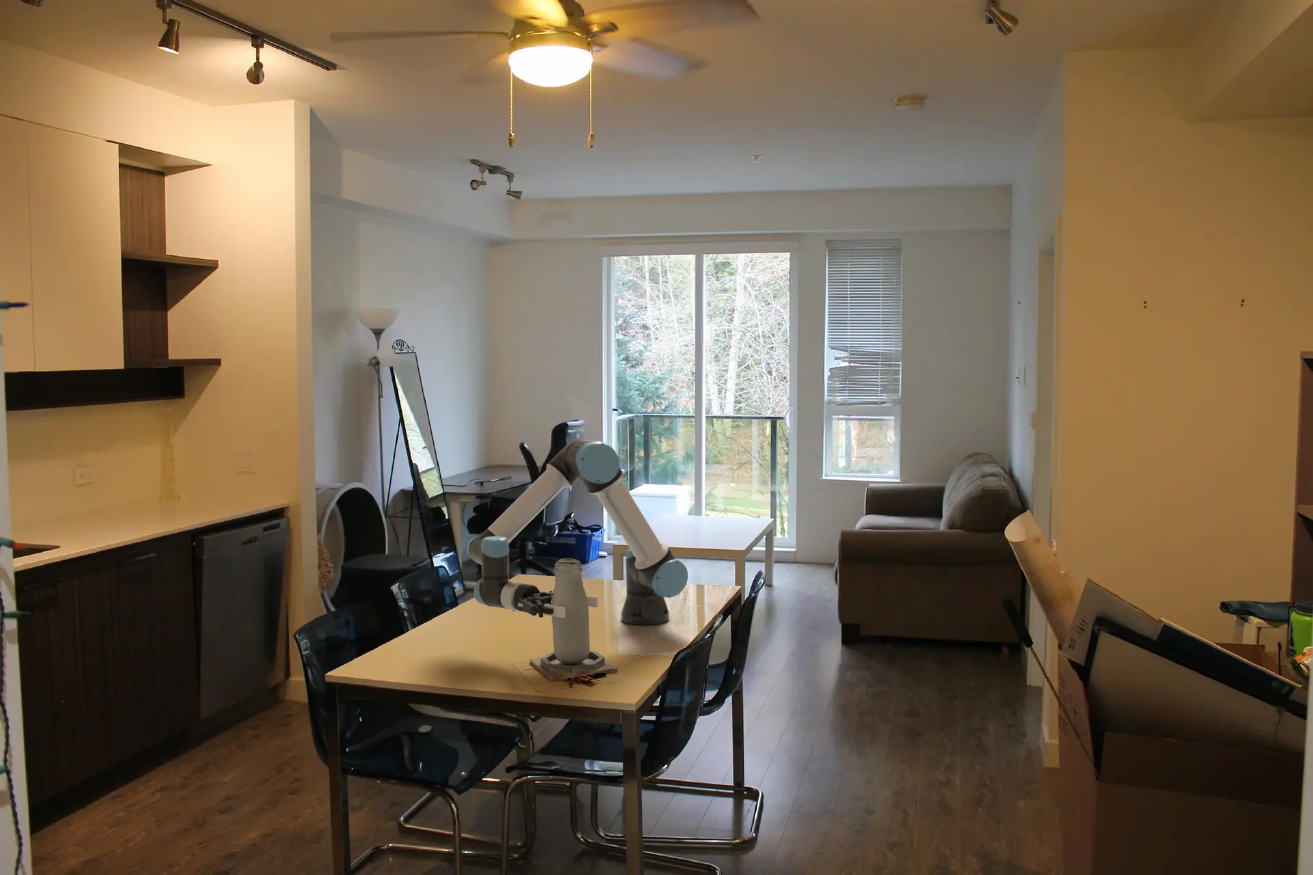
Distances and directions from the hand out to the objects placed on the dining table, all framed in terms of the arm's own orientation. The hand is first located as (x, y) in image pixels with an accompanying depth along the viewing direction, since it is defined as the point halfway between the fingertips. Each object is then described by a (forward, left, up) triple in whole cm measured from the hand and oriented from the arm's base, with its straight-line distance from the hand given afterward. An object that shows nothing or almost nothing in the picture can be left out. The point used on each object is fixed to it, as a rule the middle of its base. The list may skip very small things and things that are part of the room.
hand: (581, 607), depth 257 cm
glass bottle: (+2, -3, -16) cm, 16 cm away
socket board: (+2, -3, -16) cm, 17 cm away
